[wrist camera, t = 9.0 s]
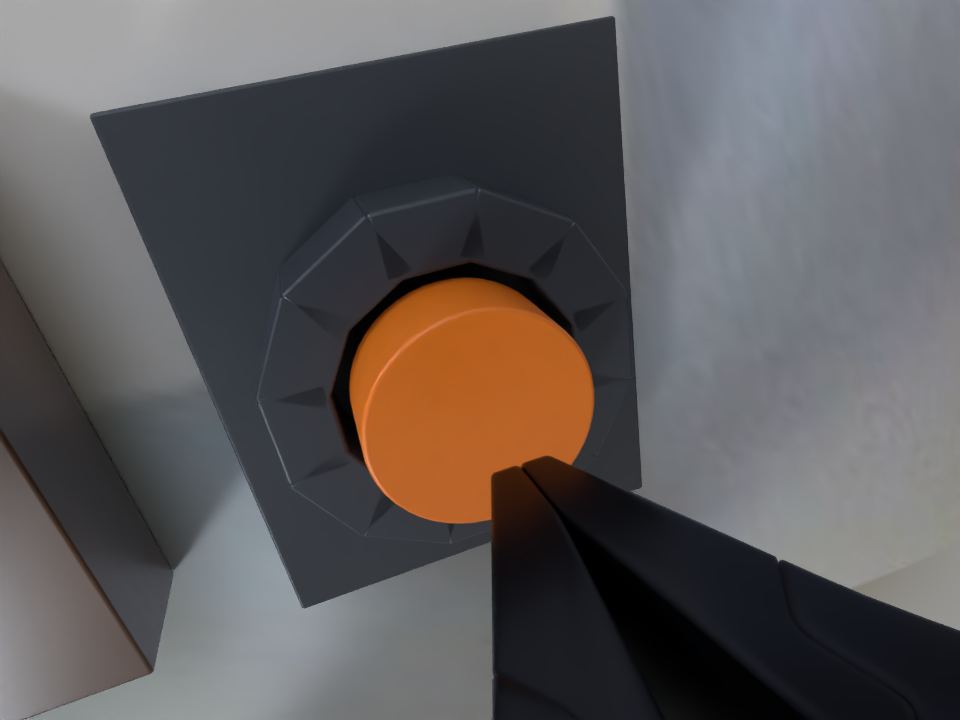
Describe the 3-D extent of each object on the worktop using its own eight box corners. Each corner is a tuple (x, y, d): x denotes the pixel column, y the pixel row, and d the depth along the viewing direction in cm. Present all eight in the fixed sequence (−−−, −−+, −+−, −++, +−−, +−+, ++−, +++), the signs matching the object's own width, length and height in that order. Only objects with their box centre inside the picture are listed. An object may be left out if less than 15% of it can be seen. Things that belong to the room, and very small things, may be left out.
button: (565, 434, 13) (604, 482, 11) (379, 496, 12) (394, 556, 10) (542, 251, 11) (585, 278, 9) (321, 310, 10) (329, 350, 9)
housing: (603, 444, 18) (683, 531, 14) (299, 548, 16) (305, 675, 13) (565, 25, 13) (673, 3, 9) (119, 109, 11) (48, 120, 8)
